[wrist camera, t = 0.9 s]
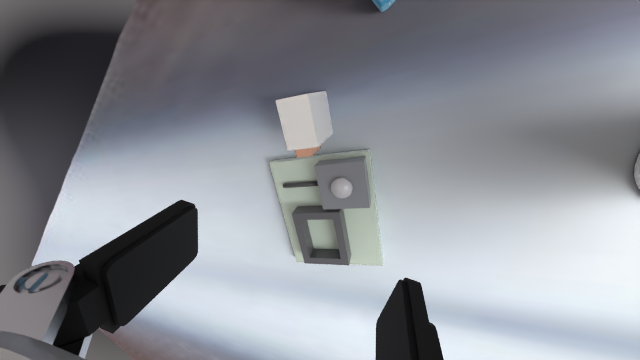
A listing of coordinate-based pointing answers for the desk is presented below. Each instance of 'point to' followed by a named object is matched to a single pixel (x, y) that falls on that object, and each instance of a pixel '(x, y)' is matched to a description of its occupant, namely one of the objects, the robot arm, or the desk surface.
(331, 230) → the board
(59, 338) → the robot arm
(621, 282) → the desk surface
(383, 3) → the data package
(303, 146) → the plug
